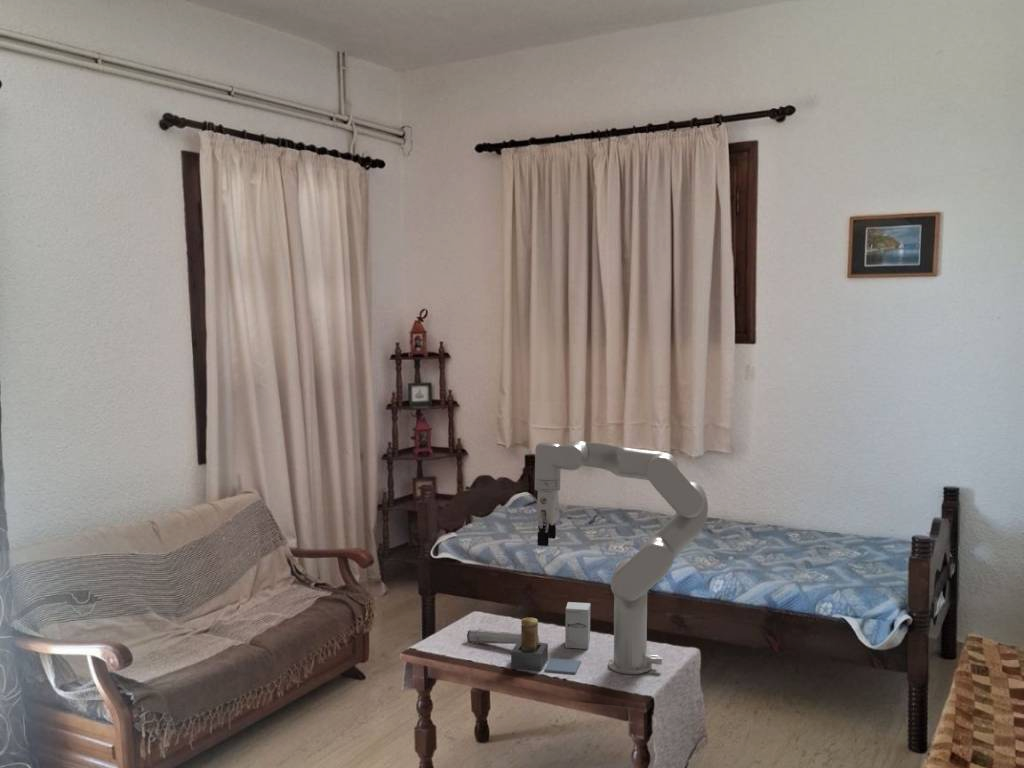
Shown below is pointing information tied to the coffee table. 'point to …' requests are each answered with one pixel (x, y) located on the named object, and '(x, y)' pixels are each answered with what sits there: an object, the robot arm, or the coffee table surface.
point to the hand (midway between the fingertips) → (546, 541)
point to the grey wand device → (493, 637)
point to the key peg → (529, 634)
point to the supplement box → (577, 625)
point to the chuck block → (529, 657)
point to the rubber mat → (562, 666)
